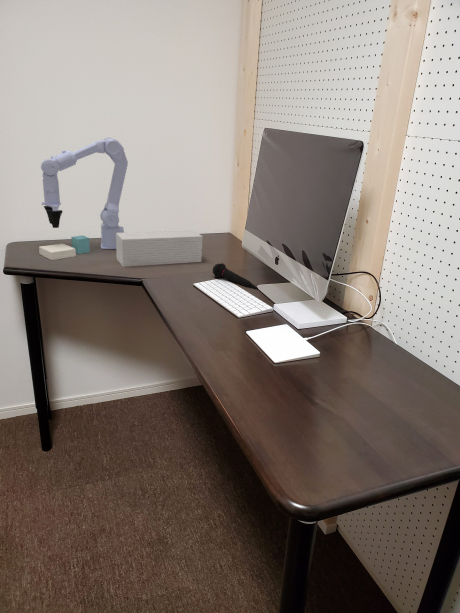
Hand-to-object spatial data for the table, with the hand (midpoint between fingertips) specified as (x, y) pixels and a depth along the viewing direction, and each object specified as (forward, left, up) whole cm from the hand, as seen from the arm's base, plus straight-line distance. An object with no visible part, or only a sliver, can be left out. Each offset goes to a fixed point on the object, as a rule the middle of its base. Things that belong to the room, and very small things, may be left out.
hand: (54, 225), depth 186 cm
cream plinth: (-1, +9, -10) cm, 14 cm away
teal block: (-10, +4, -10) cm, 14 cm away
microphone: (-62, +47, -10) cm, 79 cm away
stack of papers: (-40, +18, -10) cm, 45 cm away
